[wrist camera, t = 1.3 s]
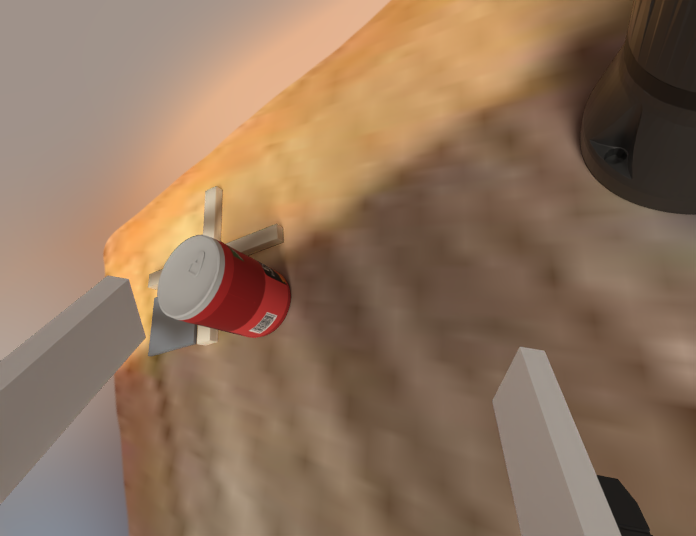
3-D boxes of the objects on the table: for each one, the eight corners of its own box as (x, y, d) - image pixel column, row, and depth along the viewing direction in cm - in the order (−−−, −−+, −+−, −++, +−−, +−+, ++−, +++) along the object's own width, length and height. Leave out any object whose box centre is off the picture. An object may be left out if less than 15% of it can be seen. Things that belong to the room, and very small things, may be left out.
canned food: (299, 272, 41) (229, 232, 32) (283, 343, 39) (203, 323, 30) (248, 270, 45) (172, 234, 35) (231, 335, 42) (145, 314, 33)
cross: (163, 217, 56) (156, 214, 55) (279, 163, 48) (274, 158, 47) (147, 360, 47) (139, 359, 46) (287, 322, 39) (280, 320, 38)
